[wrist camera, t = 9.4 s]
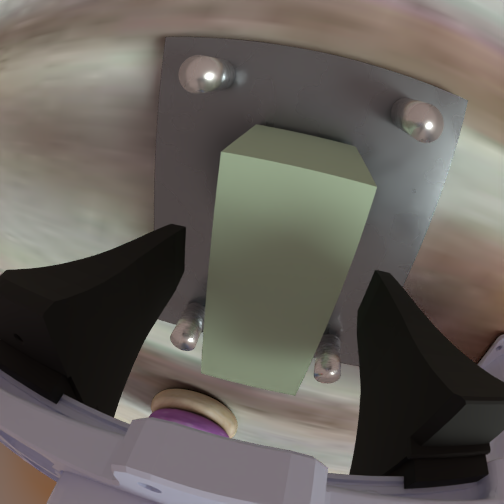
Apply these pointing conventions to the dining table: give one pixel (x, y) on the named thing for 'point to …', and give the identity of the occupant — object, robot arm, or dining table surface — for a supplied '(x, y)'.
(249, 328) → the block
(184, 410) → the stacking toy
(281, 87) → the plate
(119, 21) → the dining table surface
